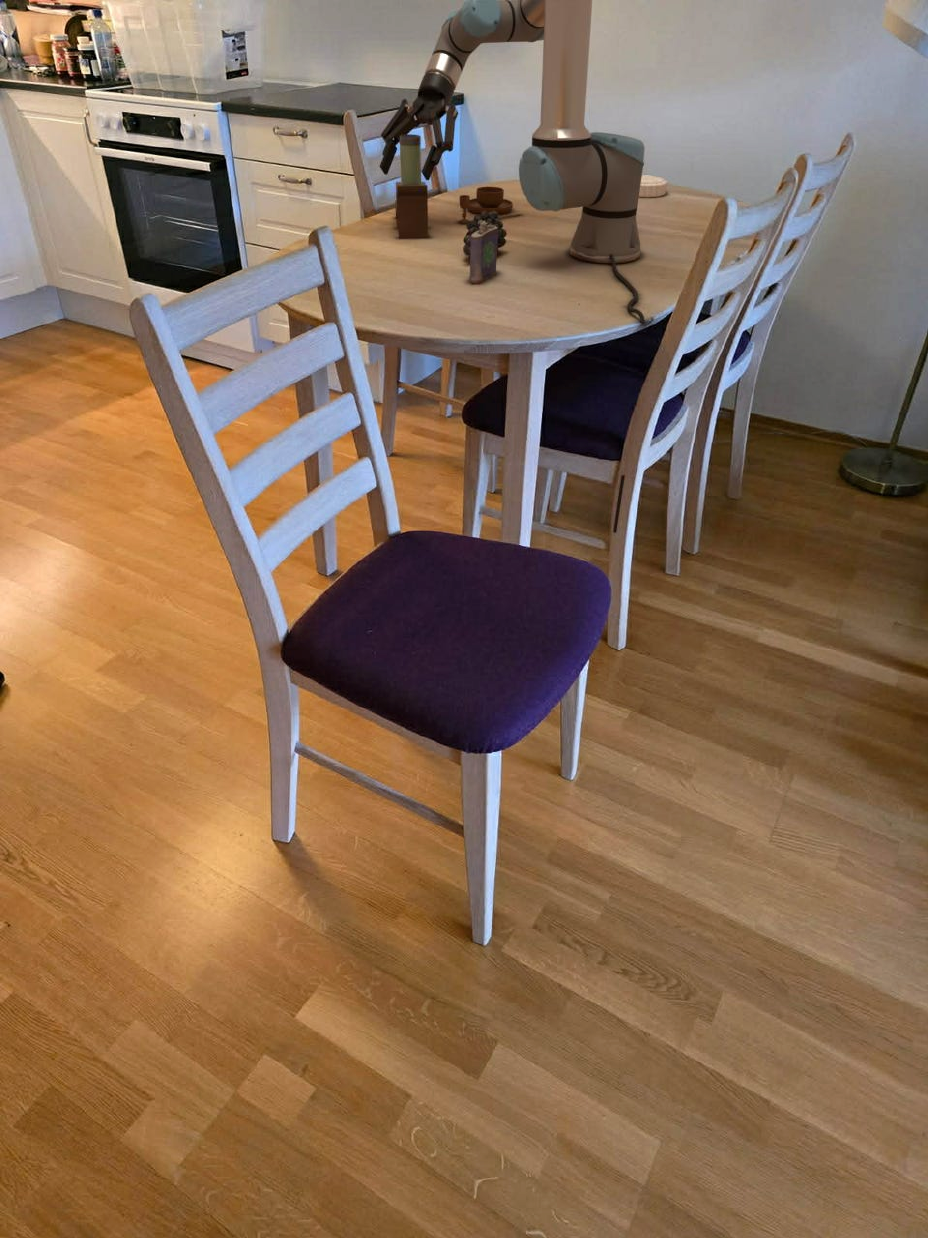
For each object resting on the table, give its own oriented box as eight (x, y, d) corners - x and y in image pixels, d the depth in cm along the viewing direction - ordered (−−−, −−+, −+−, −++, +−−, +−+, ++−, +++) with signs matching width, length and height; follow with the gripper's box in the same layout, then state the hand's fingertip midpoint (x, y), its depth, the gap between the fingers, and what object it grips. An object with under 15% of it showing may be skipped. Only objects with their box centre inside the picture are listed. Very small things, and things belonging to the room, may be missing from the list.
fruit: (475, 220, 171) (505, 203, 181) (441, 229, 175) (472, 211, 185) (487, 263, 175) (515, 244, 185) (453, 271, 179) (483, 252, 190)
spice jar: (422, 188, 189) (421, 137, 183) (401, 188, 189) (399, 137, 182) (421, 183, 193) (420, 134, 186) (400, 183, 192) (399, 134, 186)
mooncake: (655, 199, 226) (657, 184, 224) (614, 193, 231) (616, 179, 229) (672, 191, 234) (674, 177, 232) (632, 185, 239) (634, 171, 237)
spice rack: (428, 237, 194) (427, 185, 187) (398, 238, 193) (397, 185, 186) (423, 217, 208) (422, 168, 201) (395, 217, 208) (394, 168, 201)
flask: (478, 284, 167) (479, 226, 160) (465, 282, 168) (465, 224, 162) (498, 272, 173) (501, 216, 167) (486, 270, 175) (488, 214, 168)
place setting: (529, 214, 212) (530, 188, 208) (464, 224, 203) (464, 198, 199) (489, 200, 223) (489, 175, 219) (425, 209, 214) (425, 184, 211)
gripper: (489, 100, 187) (454, 190, 186) (402, 92, 195) (368, 178, 195) (478, 74, 180) (442, 167, 179) (389, 67, 188) (354, 156, 188)
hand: (404, 173), depth 187 cm, fingers open, 10 cm apart
